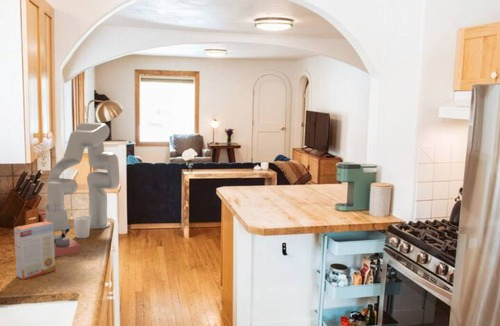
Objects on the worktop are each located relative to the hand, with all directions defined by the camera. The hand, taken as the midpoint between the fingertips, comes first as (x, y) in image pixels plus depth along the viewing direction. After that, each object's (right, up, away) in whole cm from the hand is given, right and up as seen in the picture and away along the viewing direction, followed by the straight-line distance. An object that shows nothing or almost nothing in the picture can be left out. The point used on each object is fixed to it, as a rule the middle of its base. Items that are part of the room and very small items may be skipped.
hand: (56, 243), depth 232 cm
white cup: (+6, 0, +19) cm, 20 cm away
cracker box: (+5, -7, -34) cm, 35 cm away
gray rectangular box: (0, -2, 0) cm, 2 cm away
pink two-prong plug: (+3, -3, -4) cm, 6 cm away
